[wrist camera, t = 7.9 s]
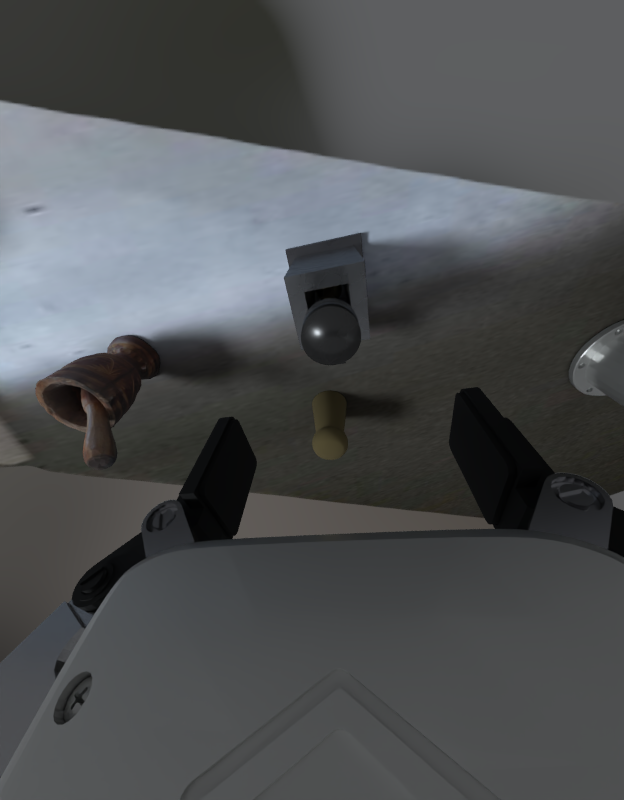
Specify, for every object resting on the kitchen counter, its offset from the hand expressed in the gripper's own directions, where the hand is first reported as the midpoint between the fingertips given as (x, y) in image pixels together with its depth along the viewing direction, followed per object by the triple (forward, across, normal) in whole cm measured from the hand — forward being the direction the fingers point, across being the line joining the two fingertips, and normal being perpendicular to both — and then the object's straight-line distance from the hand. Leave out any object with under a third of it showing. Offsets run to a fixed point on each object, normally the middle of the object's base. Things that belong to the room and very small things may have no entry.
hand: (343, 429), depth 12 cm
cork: (+29, +4, +20) cm, 35 cm away
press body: (+28, +1, +1) cm, 28 cm away
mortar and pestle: (+28, +31, +6) cm, 42 cm away
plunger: (+24, +1, 0) cm, 24 cm away
